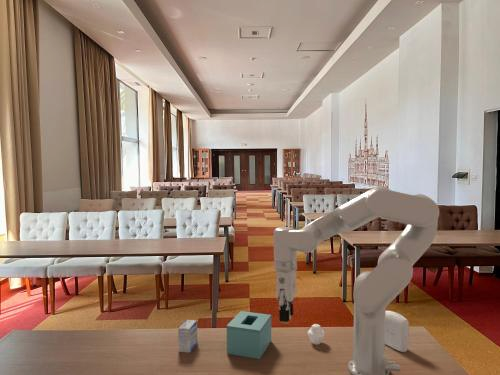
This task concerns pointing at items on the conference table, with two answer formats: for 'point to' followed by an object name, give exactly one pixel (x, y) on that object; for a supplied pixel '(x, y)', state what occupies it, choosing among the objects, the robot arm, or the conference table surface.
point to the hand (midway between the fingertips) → (286, 317)
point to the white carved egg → (316, 334)
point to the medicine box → (187, 336)
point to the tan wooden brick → (289, 312)
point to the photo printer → (396, 331)
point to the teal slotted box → (249, 334)
